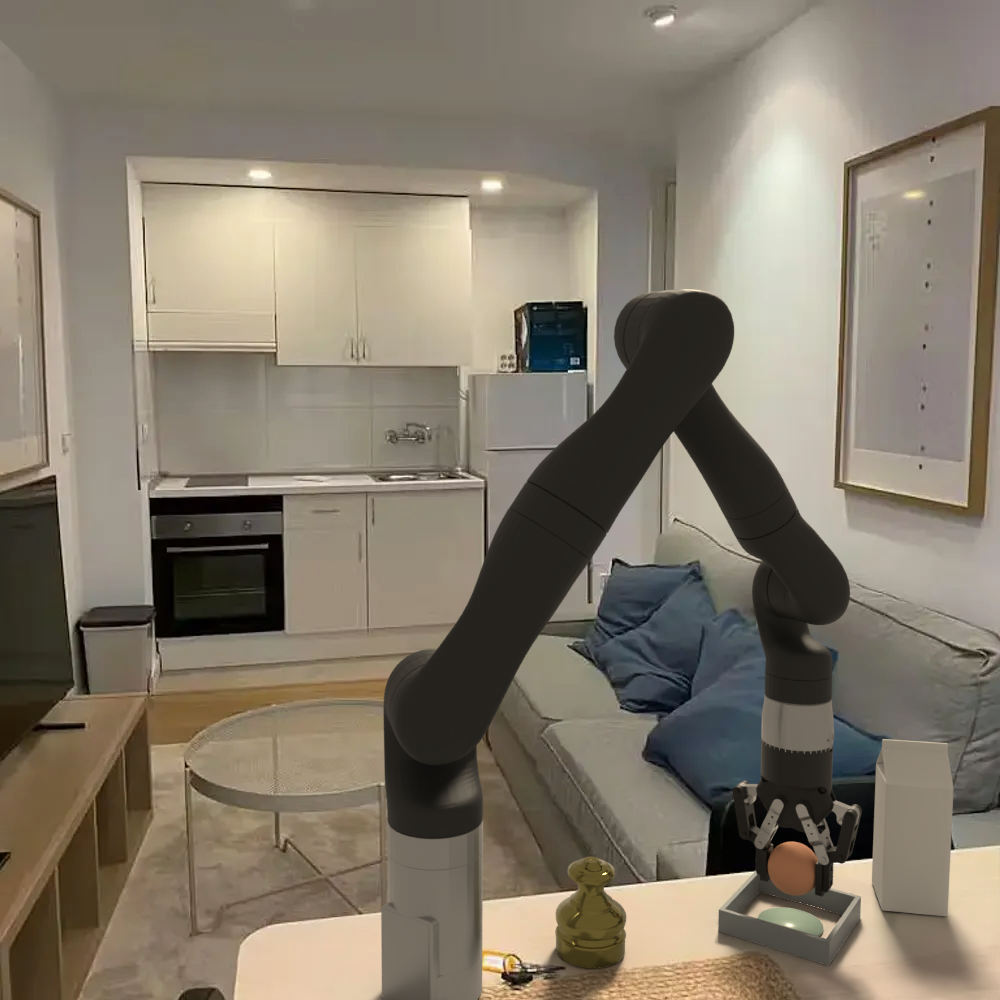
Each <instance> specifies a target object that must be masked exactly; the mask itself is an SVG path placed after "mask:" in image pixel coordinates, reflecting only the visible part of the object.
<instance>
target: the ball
mask: <svg viewBox="0 0 1000 1000" xmlns="http://www.w3.org/2000/svg"><path fill="white" fill-rule="evenodd" d="M813 851H814V850H812V849H811V848H810V847H808V845H805V844H804V843H801V842H797V841H785V842H783V843H780V844H779V845H777V846H775V848H773V851H772V852H771V854H770V856H769V859H768V873H769V876H770V878H771V880H772V882H773V884H774V885H775V886H776V887H777V888H778V889H779V890H781V891H782V892H784V893H786V894H789V895H795V896H798V895H804V894H806V893H808V892H810V891H811V890H813V889H814V887H815V870H816V863H817V861H818V859H817V856H816V853H815V851H814V852H813Z"/></svg>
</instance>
